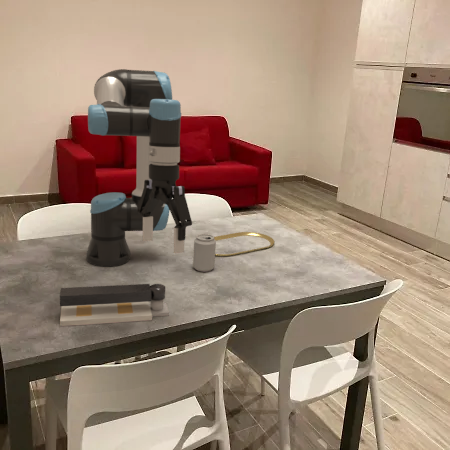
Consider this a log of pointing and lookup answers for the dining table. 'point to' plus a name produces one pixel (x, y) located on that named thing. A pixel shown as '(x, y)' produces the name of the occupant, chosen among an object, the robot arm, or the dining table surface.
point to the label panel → (112, 313)
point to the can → (204, 252)
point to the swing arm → (111, 294)
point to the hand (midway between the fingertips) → (162, 246)
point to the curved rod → (244, 235)
